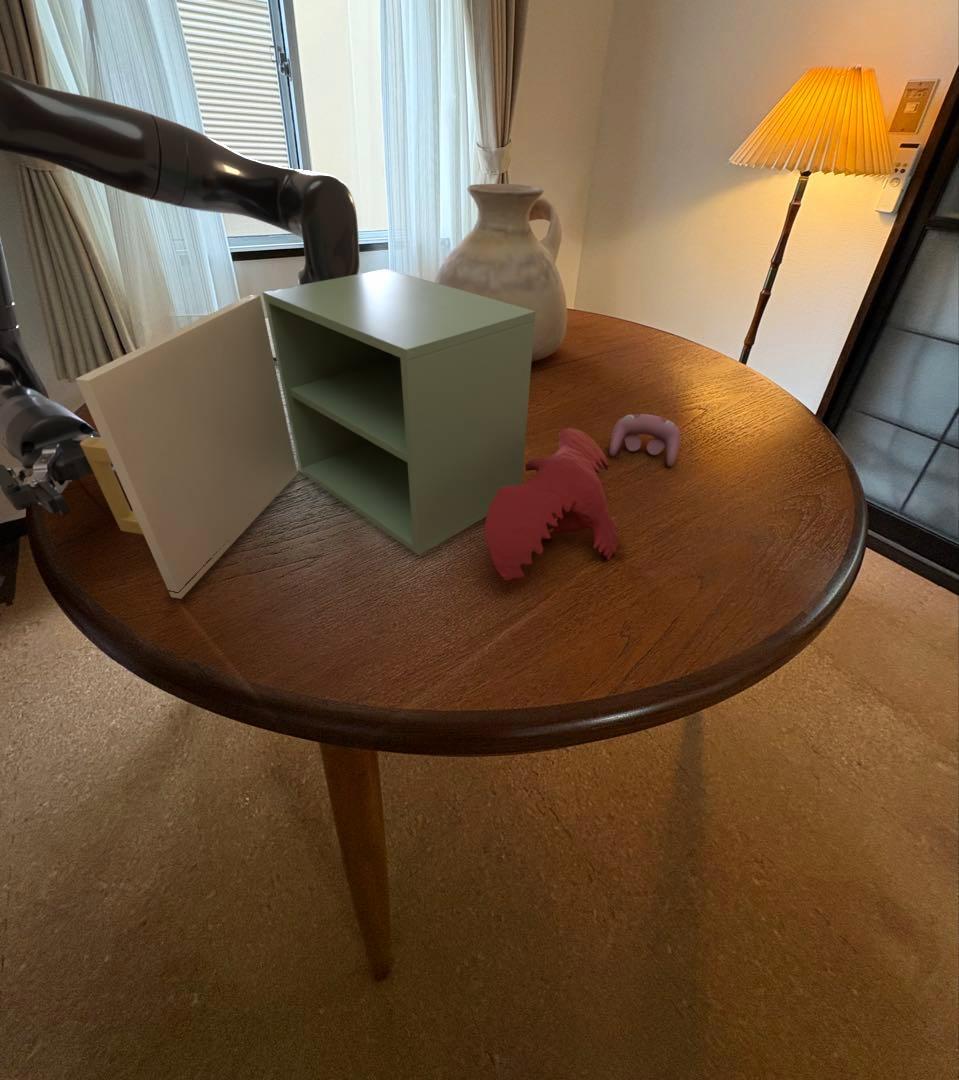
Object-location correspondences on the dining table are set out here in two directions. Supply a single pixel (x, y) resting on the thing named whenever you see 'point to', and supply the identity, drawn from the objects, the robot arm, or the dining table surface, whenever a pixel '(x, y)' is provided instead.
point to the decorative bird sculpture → (551, 505)
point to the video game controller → (648, 425)
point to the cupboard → (404, 397)
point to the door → (191, 438)
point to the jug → (513, 259)
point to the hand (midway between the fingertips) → (110, 487)
